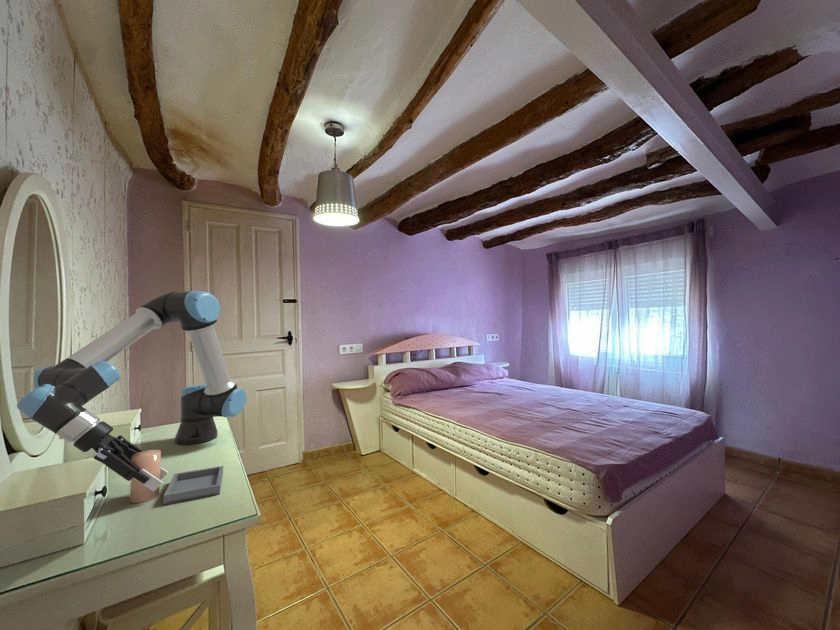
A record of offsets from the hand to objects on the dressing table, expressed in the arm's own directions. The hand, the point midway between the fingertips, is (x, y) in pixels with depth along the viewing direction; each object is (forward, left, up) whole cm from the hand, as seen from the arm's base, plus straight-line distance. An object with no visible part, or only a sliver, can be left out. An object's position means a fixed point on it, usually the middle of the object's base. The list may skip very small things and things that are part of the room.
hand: (161, 481), depth 95 cm
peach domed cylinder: (+3, -3, -4) cm, 5 cm away
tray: (-6, +6, -4) cm, 9 cm away
